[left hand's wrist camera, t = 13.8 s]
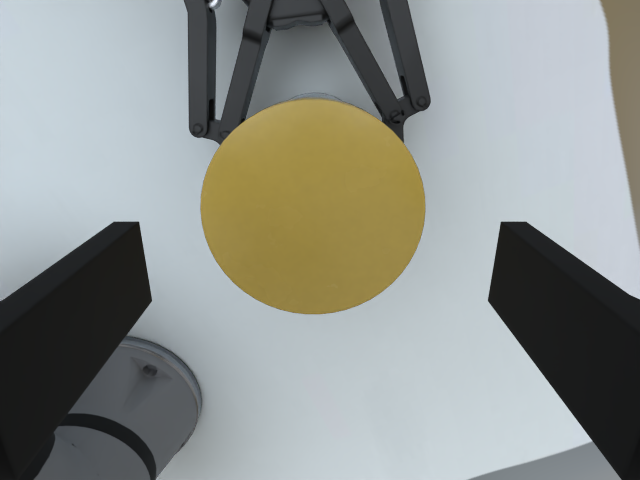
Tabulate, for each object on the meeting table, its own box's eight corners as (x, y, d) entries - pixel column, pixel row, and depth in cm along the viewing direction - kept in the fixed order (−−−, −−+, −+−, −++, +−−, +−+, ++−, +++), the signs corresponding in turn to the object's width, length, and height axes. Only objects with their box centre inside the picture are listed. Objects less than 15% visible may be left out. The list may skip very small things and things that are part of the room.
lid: (241, 63, 17) (233, 61, 16) (450, 140, 18) (464, 147, 17) (190, 263, 20) (178, 279, 19) (370, 317, 22) (375, 338, 20)
